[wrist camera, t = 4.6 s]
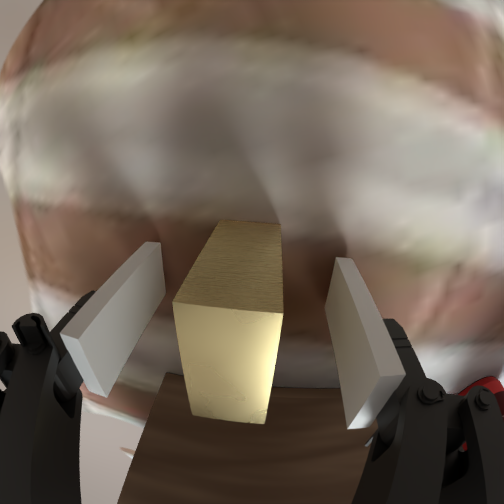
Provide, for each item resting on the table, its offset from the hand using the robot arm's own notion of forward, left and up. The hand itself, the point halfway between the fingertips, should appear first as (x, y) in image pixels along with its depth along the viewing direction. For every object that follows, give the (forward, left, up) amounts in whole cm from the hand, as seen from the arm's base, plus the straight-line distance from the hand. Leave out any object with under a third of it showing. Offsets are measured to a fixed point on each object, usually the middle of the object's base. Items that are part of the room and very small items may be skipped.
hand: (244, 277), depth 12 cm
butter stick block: (0, 0, 0) cm, 0 cm away
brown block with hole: (+16, +2, 0) cm, 16 cm away
